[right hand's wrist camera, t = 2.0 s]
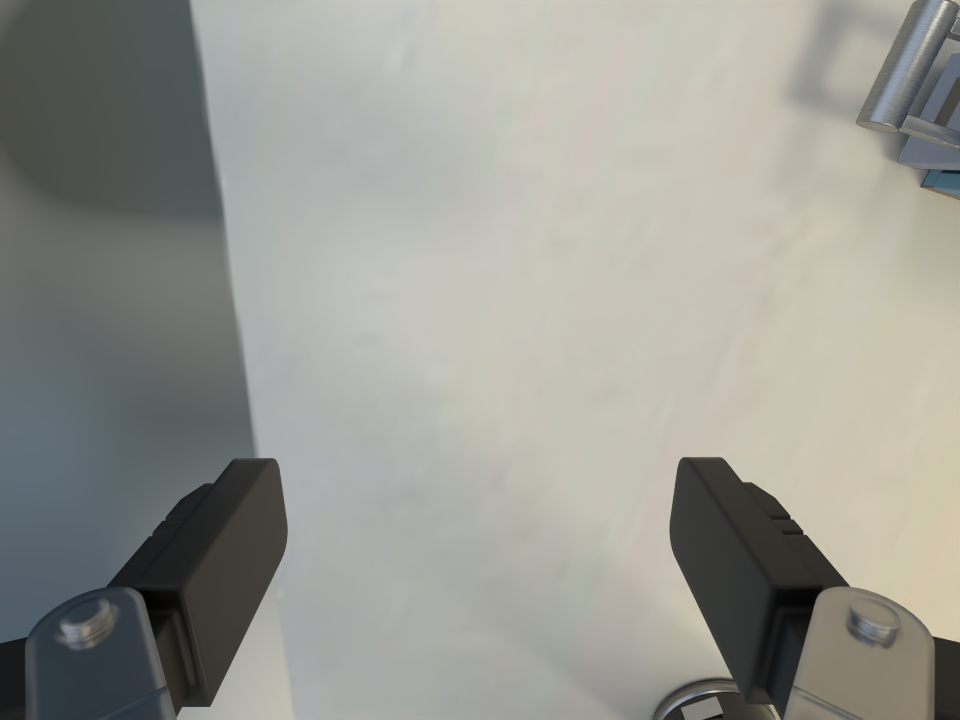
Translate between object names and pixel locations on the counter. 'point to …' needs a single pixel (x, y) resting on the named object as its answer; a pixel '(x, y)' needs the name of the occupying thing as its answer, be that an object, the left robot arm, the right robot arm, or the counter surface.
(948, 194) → the cabinet
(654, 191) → the counter surface
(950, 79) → the drawer
